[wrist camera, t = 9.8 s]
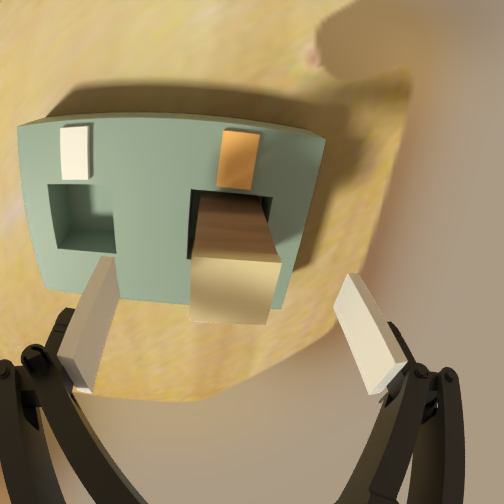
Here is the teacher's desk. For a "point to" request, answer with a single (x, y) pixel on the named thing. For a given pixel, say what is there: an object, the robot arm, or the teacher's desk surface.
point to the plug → (232, 261)
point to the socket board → (155, 193)
